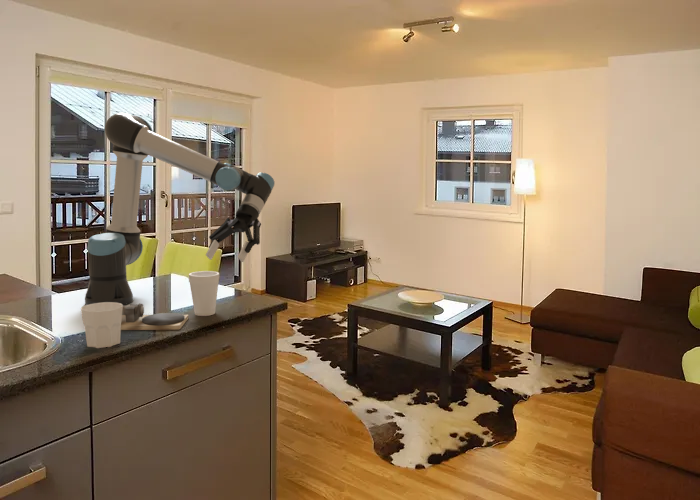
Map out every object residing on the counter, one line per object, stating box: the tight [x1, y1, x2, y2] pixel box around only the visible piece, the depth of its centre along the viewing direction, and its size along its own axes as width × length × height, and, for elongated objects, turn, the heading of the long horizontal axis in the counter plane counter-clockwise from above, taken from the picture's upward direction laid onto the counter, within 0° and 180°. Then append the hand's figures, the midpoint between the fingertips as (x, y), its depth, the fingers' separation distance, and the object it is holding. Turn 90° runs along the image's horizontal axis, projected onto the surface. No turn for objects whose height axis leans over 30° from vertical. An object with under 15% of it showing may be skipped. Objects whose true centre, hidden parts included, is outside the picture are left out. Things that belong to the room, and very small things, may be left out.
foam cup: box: [188, 270, 220, 317], centre depth 175 cm, size 10×9×13 cm
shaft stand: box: [121, 303, 189, 331], centre depth 163 cm, size 22×12×6 cm, turn 95°
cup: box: [80, 302, 124, 349], centre depth 144 cm, size 10×10×10 cm
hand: (224, 258), depth 182 cm, fingers open, 13 cm apart
